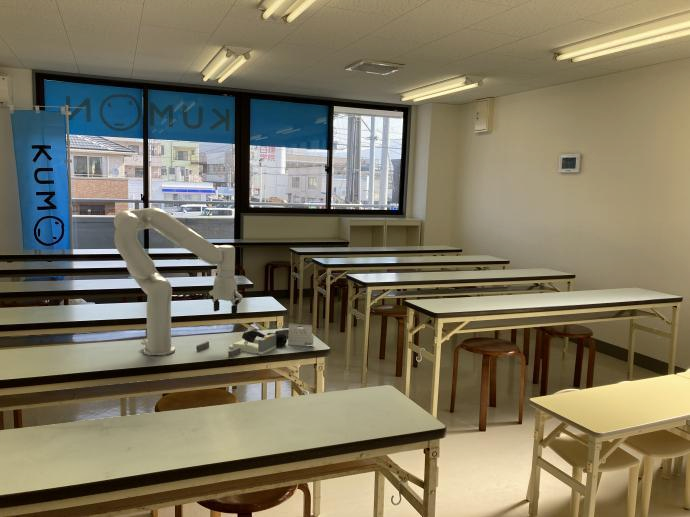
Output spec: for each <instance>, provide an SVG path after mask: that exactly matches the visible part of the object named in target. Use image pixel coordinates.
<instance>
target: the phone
mask: <svg viewBox="0 0 690 517" xmlns="http://www.w3.org/2000/svg"><path fill="white" fill-rule="evenodd" d="M274 333H283V334H285V335H286V339H288V334H289V328H288V329H282V330H281V329H280V330H275V332H274Z"/></svg>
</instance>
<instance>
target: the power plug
mask: <svg viewBox="0 0 690 517" xmlns="http://www.w3.org/2000/svg"><path fill="white" fill-rule="evenodd" d="M264 336H266V335H265V334H264V333H262V332H260V331H258V330H256V329H254V328H249V329H247V330H244V332H243V333H242V335H241V338H242V340H245V342H244V344H245V345H247V344H248V342H251V343H254V341H255V339H257V337H258V338H260V339H261V338H264Z"/></svg>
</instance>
